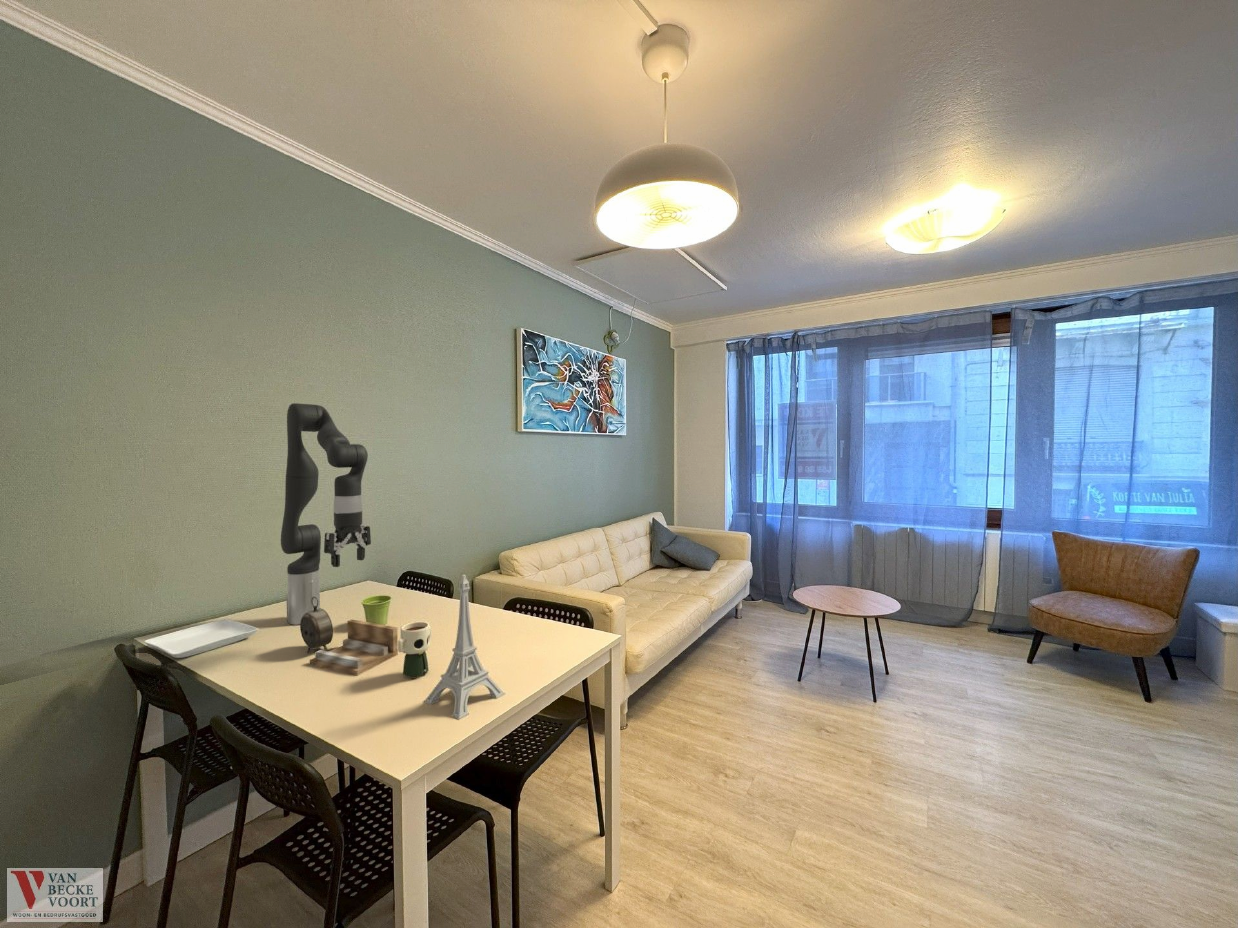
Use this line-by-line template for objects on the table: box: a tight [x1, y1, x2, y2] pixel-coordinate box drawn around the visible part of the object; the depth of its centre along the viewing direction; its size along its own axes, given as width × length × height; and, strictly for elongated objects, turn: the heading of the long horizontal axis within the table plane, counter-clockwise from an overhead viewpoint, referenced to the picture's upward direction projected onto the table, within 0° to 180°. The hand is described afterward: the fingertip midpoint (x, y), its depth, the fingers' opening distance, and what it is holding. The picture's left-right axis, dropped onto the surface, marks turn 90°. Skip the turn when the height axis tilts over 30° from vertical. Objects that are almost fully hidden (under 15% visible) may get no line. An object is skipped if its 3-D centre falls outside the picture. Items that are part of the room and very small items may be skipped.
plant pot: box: [360, 594, 393, 625], centre depth 161 cm, size 9×9×9 cm
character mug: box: [398, 621, 432, 679], centre depth 126 cm, size 11×7×13 cm, turn 158°
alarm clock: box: [299, 596, 334, 653], centre depth 141 cm, size 11×5×16 cm, turn 58°
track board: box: [309, 619, 399, 676], centre depth 135 cm, size 18×14×8 cm
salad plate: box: [143, 618, 259, 659], centre depth 146 cm, size 21×21×3 cm
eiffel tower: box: [423, 574, 506, 720], centre depth 114 cm, size 13×13×30 cm
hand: (348, 563), depth 144 cm, fingers open, 8 cm apart
